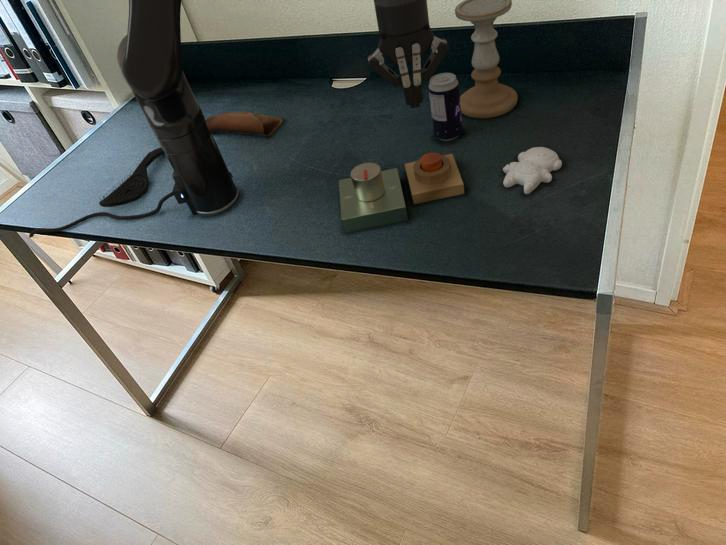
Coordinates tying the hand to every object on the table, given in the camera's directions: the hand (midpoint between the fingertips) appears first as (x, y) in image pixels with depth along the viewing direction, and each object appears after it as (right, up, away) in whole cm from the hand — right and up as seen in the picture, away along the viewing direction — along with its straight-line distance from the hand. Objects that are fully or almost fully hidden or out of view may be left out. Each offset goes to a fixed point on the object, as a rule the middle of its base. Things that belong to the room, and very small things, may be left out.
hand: (414, 105), depth 88 cm
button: (+4, -9, +6) cm, 12 cm away
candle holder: (+18, +8, +25) cm, 32 cm away
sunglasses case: (-37, +7, +40) cm, 55 cm away
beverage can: (+9, 0, +19) cm, 21 cm away
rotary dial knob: (-7, -14, +6) cm, 16 cm away
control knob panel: (-7, -16, +8) cm, 19 cm away
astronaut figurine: (+21, -10, +5) cm, 24 cm away
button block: (+4, -11, +9) cm, 15 cm away
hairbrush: (-58, -7, +32) cm, 67 cm away
